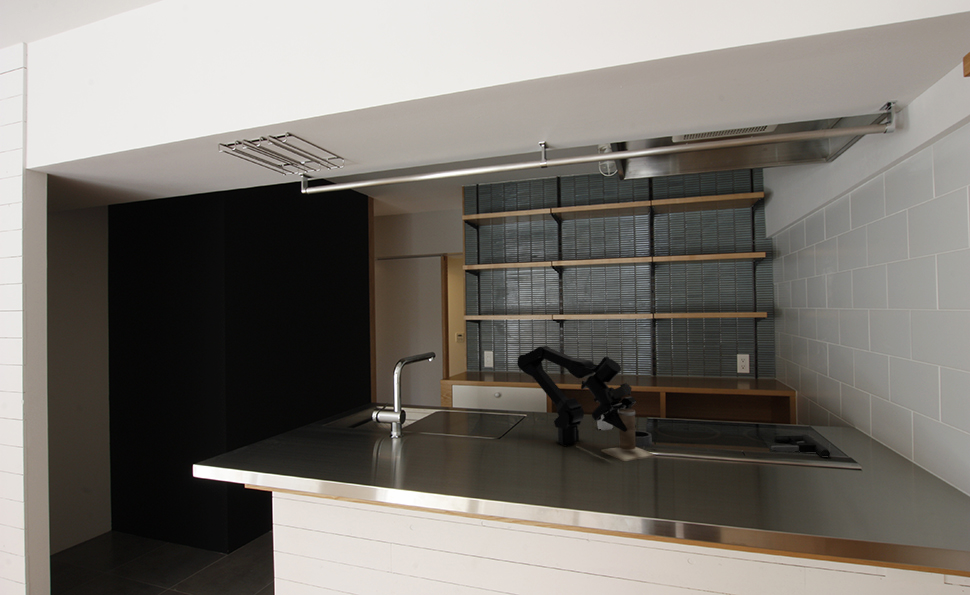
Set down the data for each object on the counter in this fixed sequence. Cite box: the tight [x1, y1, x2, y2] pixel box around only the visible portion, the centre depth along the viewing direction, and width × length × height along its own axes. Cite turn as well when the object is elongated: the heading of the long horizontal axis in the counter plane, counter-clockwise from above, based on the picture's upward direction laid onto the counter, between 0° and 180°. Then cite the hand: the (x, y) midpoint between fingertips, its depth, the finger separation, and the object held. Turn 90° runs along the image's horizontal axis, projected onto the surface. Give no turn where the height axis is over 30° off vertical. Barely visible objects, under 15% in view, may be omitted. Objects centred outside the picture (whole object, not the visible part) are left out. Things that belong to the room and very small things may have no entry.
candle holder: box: [635, 430, 654, 448], centre depth 181 cm, size 10×10×4 cm
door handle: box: [770, 433, 831, 458], centre depth 173 cm, size 3×20×16 cm
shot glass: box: [596, 415, 614, 431], centre depth 206 cm, size 7×7×7 cm
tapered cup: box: [618, 408, 636, 450], centre depth 169 cm, size 5×5×12 cm
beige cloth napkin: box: [600, 446, 656, 462], centre depth 168 cm, size 12×12×2 cm
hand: (630, 429), depth 168 cm, fingers closed on tapered cup, 5 cm apart
